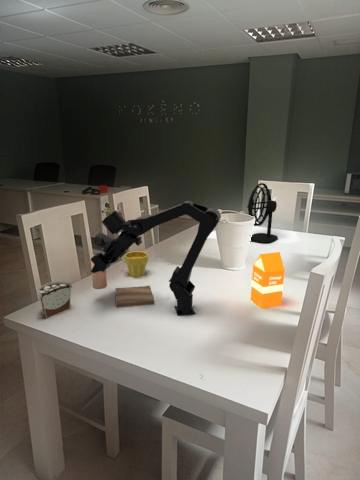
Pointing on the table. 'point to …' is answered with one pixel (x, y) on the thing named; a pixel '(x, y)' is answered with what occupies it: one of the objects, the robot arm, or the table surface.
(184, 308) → the robot arm
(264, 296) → the orange juice
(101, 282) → the pillar candle
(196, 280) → the table surface
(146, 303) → the walnut board
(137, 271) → the plant pot
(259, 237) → the desk fan
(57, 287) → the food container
